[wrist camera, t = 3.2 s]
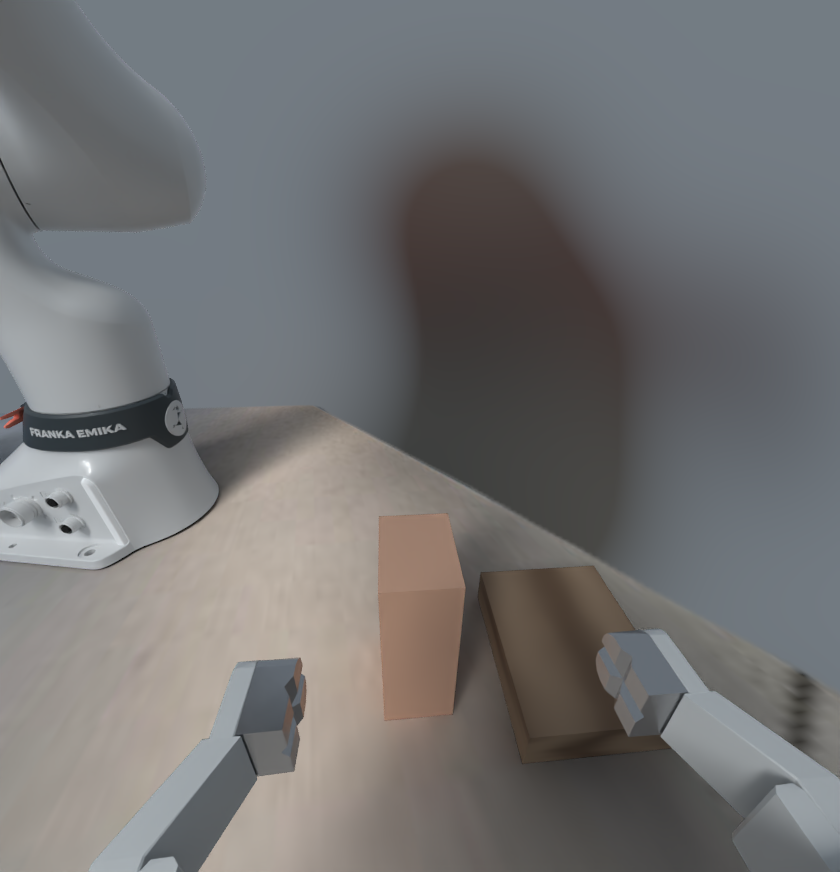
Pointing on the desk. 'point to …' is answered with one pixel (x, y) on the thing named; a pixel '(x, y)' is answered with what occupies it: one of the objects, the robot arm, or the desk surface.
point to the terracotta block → (419, 614)
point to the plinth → (556, 661)
